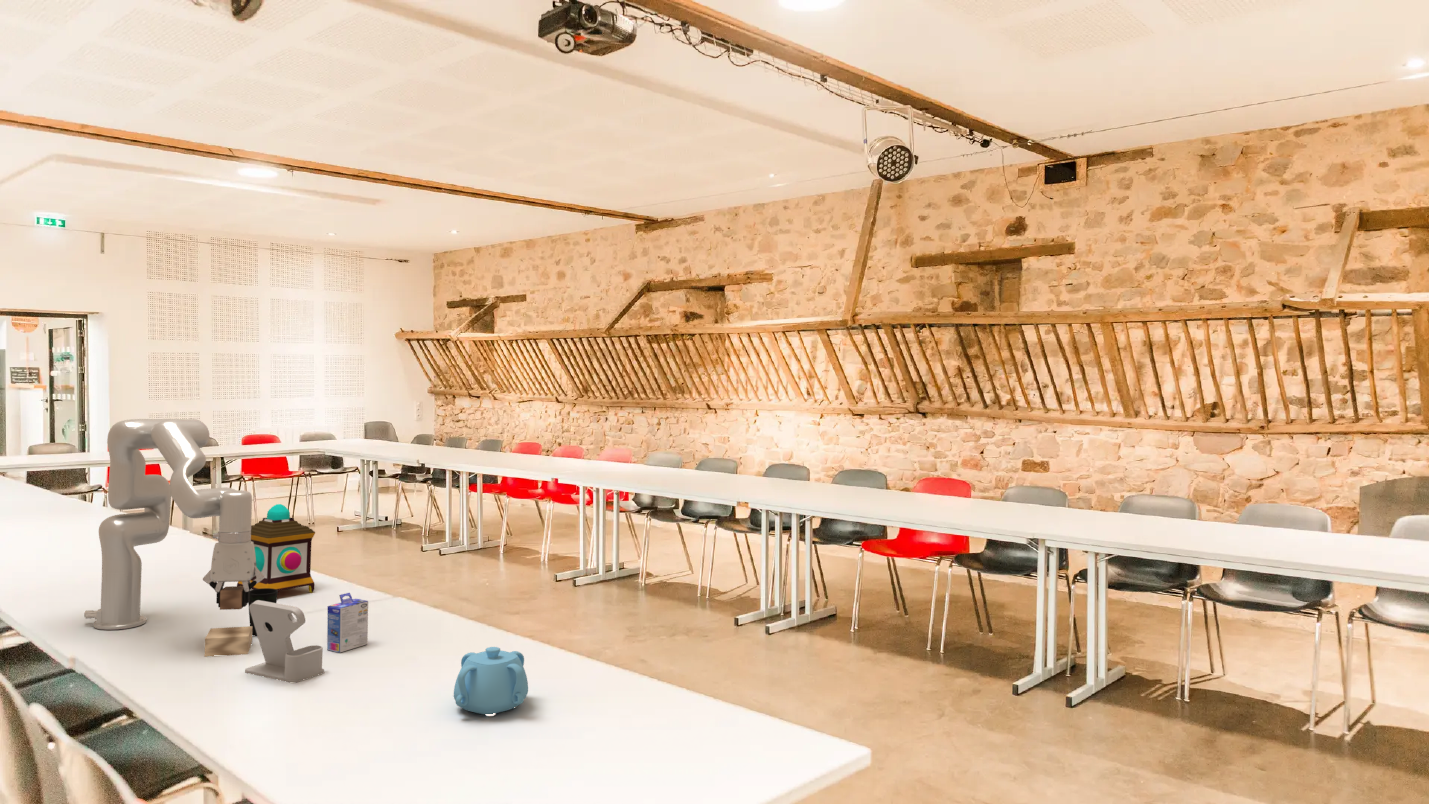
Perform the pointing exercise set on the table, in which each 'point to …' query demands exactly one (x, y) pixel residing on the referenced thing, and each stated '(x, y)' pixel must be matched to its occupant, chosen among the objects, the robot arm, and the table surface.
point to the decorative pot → (491, 681)
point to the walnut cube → (231, 598)
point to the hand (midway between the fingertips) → (233, 605)
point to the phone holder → (283, 644)
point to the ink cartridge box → (347, 624)
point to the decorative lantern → (282, 551)
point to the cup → (262, 595)
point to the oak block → (228, 641)
